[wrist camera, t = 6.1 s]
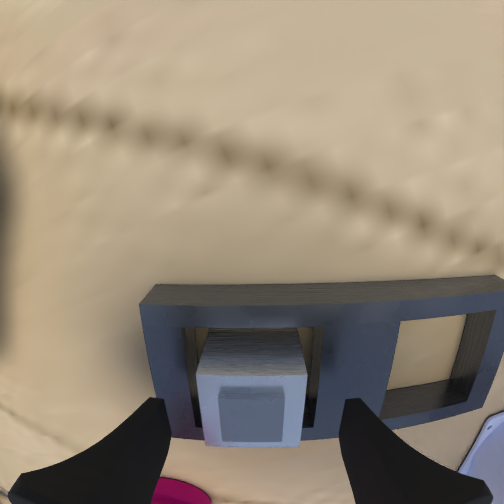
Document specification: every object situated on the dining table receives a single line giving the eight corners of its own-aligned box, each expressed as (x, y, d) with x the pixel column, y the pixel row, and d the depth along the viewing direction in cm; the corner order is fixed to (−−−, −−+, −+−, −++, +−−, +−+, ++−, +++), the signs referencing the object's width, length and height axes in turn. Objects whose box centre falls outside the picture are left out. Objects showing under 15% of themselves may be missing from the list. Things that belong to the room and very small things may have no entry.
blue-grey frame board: (465, 386, 17) (482, 407, 14) (175, 408, 17) (166, 436, 15) (495, 275, 15) (520, 288, 12) (156, 284, 15) (138, 304, 13)
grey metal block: (291, 381, 17) (300, 452, 11) (217, 380, 17) (204, 452, 12) (294, 316, 16) (308, 381, 10) (213, 316, 16) (193, 380, 11)
